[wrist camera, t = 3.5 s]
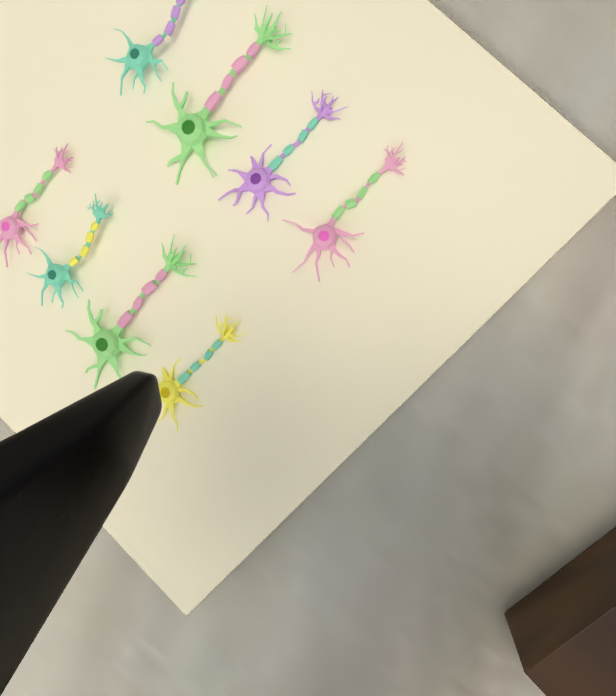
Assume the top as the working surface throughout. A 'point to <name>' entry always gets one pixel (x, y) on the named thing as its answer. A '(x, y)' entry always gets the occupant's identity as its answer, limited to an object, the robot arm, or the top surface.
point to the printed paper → (259, 236)
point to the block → (571, 626)
